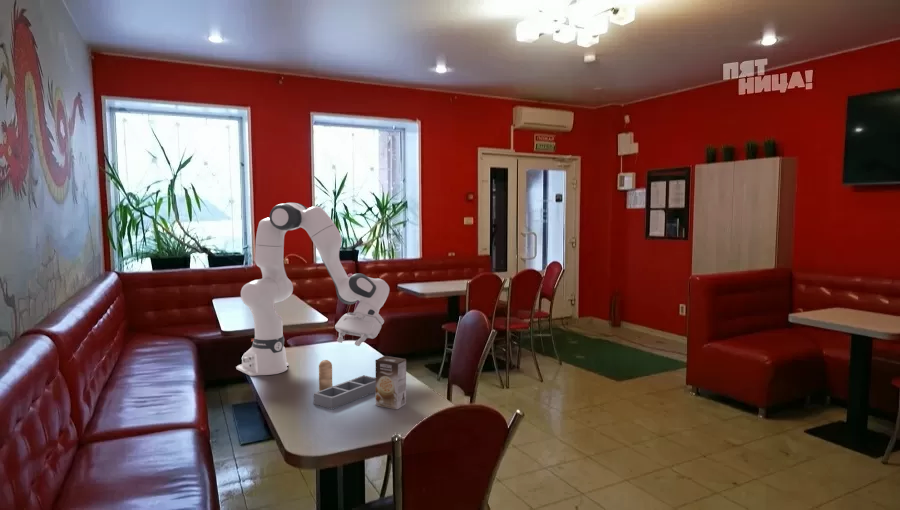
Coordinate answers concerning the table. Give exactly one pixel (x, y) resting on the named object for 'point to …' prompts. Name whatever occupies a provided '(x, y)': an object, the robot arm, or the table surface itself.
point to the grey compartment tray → (345, 392)
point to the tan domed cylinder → (325, 375)
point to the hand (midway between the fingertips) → (347, 343)
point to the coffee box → (390, 382)
